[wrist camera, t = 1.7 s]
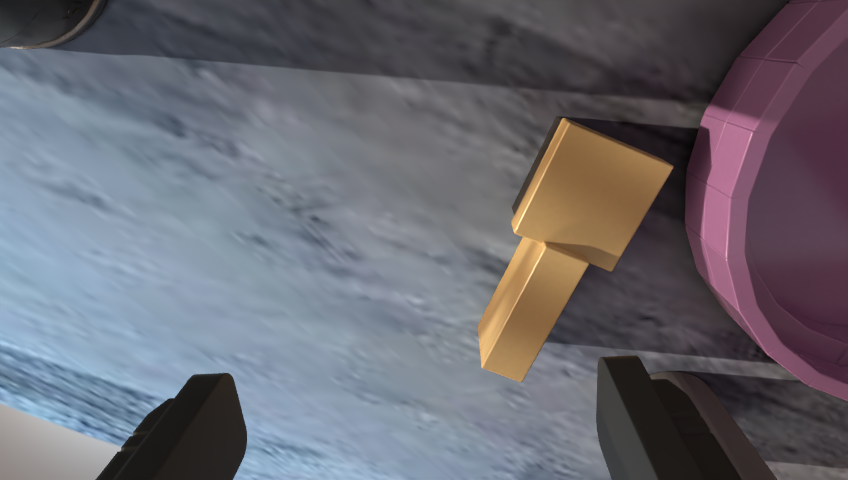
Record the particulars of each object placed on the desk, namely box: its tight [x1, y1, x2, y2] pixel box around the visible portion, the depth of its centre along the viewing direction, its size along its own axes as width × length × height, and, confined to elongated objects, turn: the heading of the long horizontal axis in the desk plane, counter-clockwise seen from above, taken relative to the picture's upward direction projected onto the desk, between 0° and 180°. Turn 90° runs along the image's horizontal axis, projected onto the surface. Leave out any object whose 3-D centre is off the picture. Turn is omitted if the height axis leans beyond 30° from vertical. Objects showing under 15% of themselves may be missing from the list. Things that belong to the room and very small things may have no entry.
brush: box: [478, 116, 673, 382], centre depth 26 cm, size 12×5×4 cm, turn 158°
